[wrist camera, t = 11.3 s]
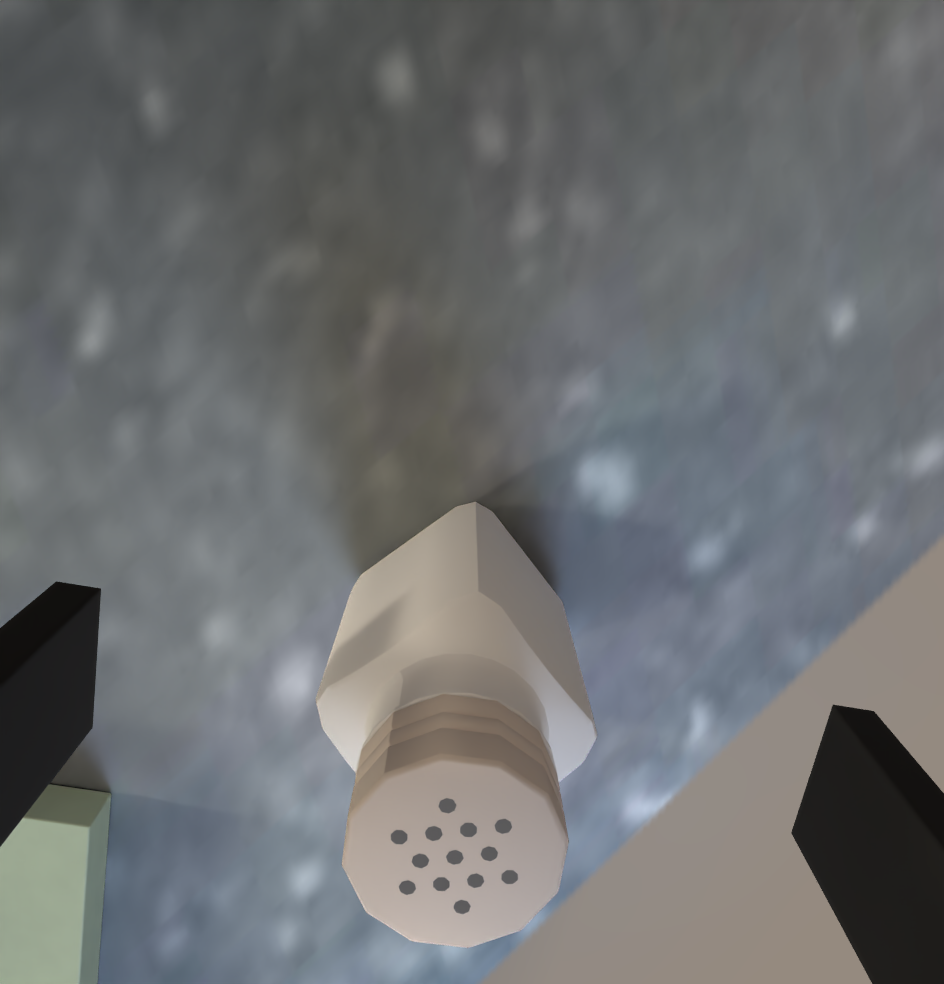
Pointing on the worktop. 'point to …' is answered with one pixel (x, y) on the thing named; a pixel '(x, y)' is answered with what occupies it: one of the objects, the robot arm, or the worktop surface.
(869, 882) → the robot arm
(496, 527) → the pepper shaker
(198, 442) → the worktop surface
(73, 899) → the scale
